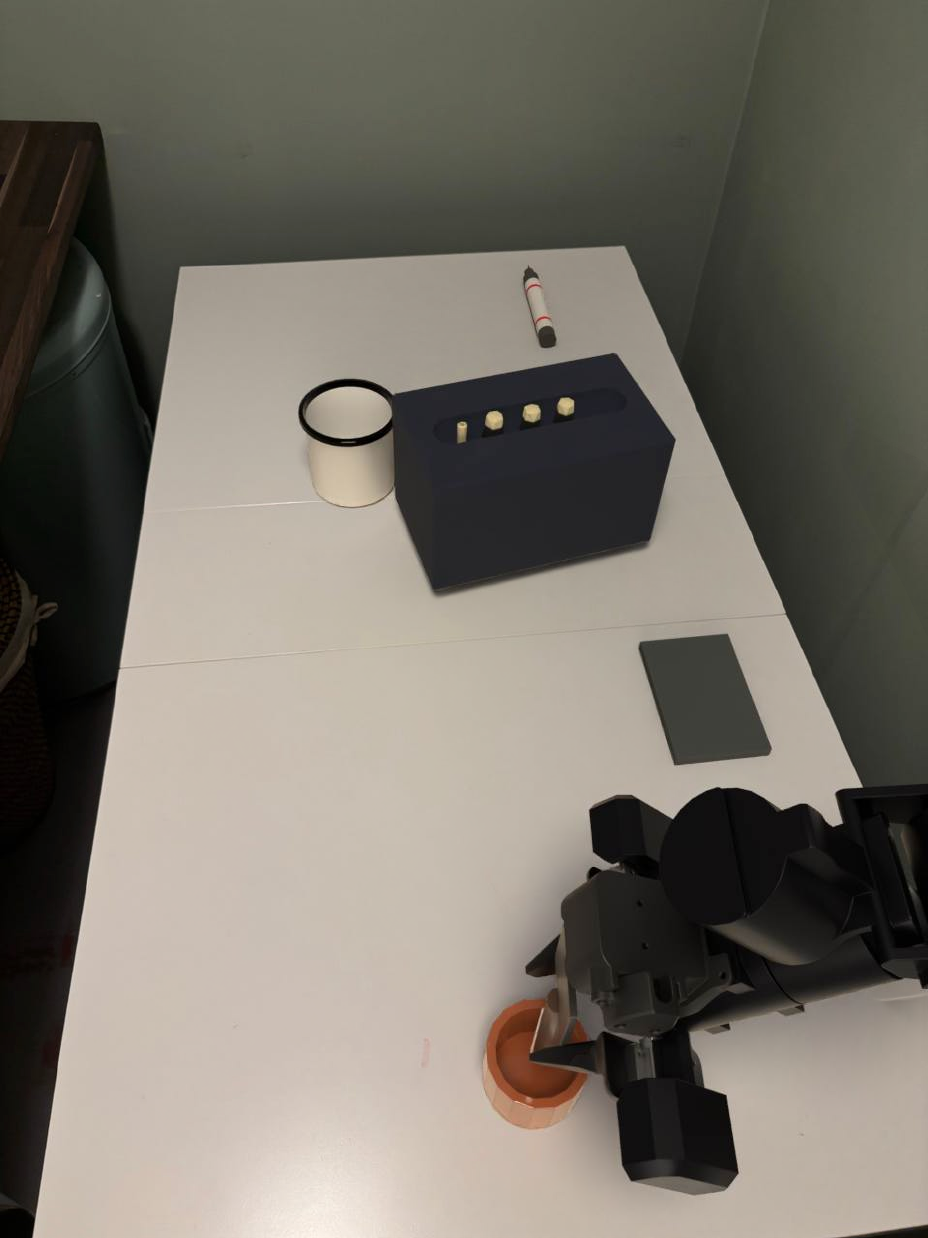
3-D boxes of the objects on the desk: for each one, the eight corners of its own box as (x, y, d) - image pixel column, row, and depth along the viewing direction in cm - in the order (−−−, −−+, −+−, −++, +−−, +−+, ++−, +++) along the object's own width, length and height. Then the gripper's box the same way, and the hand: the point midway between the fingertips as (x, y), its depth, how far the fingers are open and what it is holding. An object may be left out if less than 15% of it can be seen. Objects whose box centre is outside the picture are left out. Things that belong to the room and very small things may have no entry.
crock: (599, 1071, 65) (611, 1047, 61) (539, 1153, 62) (547, 1133, 58) (524, 1005, 68) (530, 977, 63) (462, 1080, 65) (464, 1056, 60)
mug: (308, 516, 97) (299, 445, 90) (305, 451, 102) (296, 380, 95) (430, 507, 98) (430, 436, 91) (420, 443, 104) (420, 372, 97)
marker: (555, 347, 115) (557, 332, 113) (539, 348, 115) (540, 333, 113) (534, 273, 124) (536, 259, 123) (519, 274, 124) (520, 259, 123)
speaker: (596, 465, 102) (617, 342, 91) (649, 552, 95) (679, 431, 83) (394, 508, 98) (390, 384, 86) (433, 603, 90) (434, 482, 78)
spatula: (555, 1009, 62) (582, 921, 51) (560, 1092, 59) (589, 1018, 48) (531, 1008, 62) (552, 921, 51) (535, 1091, 59) (558, 1017, 48)
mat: (769, 755, 81) (772, 749, 80) (674, 765, 80) (676, 759, 79) (725, 640, 88) (727, 633, 88) (638, 648, 87) (640, 641, 87)
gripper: (658, 707, 48) (431, 814, 56) (724, 1132, 36) (425, 1187, 45) (776, 789, 54) (556, 874, 63) (864, 1173, 43) (579, 1215, 51)
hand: (531, 1014), depth 55 cm, fingers closed on spatula, 4 cm apart
